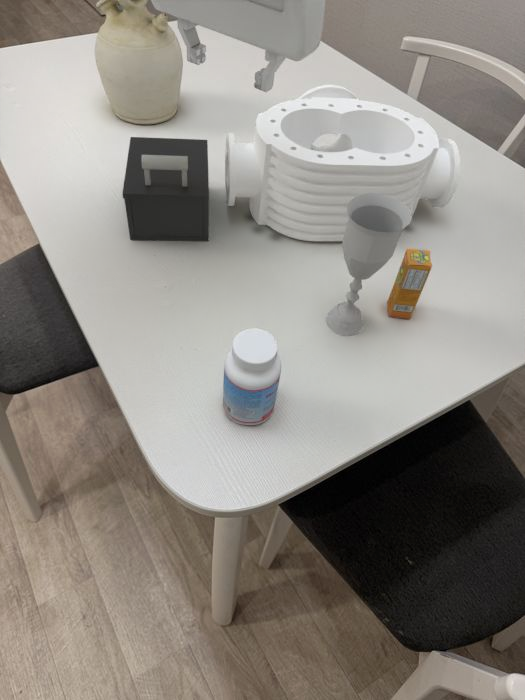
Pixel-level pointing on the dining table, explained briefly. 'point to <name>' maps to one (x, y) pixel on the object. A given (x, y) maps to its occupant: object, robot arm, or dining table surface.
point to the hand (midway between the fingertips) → (229, 75)
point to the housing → (336, 162)
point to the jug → (138, 62)
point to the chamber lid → (167, 169)
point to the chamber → (168, 219)
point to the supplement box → (409, 283)
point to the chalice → (367, 250)
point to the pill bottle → (251, 377)
